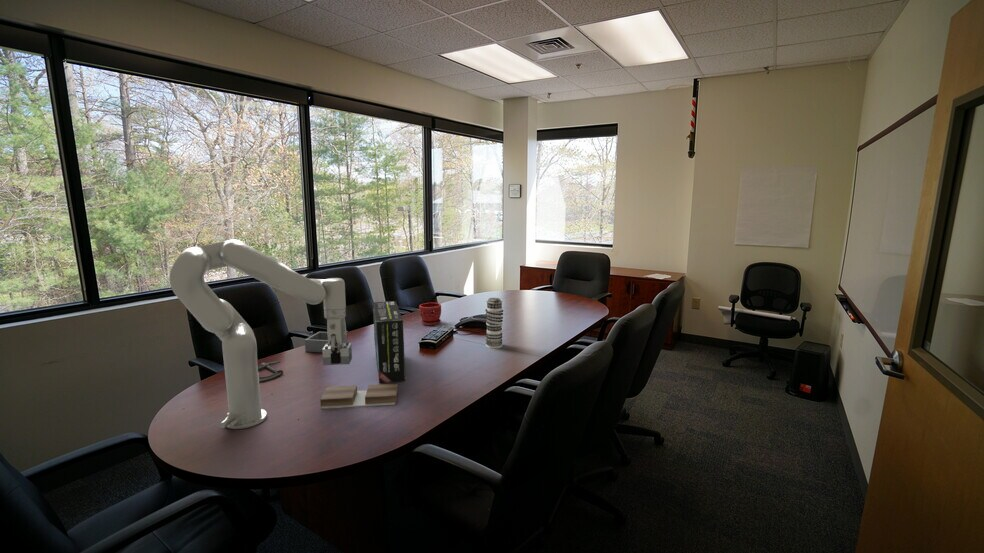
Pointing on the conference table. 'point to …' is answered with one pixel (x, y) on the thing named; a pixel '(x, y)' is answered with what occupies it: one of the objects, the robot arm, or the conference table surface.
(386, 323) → the router box
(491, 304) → the model tower
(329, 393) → the stand
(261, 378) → the c clamp
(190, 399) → the conference table surface
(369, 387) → the stand
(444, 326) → the conference table surface
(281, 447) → the conference table surface
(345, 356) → the housing
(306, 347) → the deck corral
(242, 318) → the robot arm
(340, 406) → the mat
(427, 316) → the plant pot
